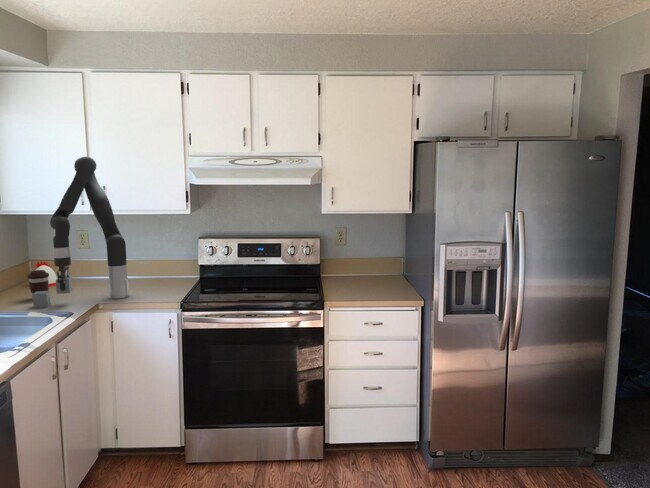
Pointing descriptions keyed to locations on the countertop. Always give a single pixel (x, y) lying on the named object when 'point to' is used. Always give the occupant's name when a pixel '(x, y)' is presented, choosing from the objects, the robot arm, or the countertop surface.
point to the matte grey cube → (67, 286)
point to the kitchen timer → (47, 268)
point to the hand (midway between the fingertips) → (64, 288)
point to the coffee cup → (38, 281)
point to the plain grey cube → (41, 299)
